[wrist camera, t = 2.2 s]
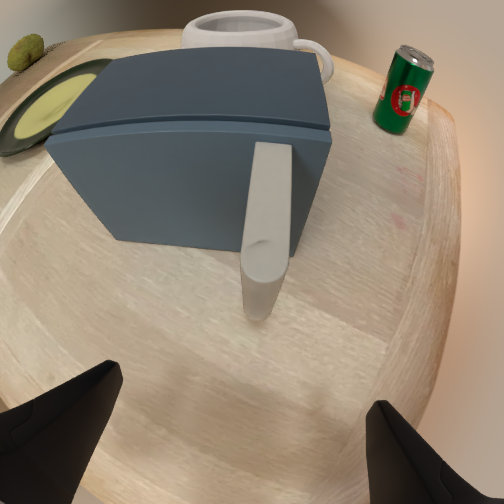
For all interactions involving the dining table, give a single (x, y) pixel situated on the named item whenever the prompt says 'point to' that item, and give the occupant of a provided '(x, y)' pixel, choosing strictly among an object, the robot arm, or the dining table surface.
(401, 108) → the soda can
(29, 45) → the fruit
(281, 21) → the mug
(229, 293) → the dining table surface
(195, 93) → the cabinet
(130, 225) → the cabinet door
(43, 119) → the plate
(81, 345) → the dining table surface
